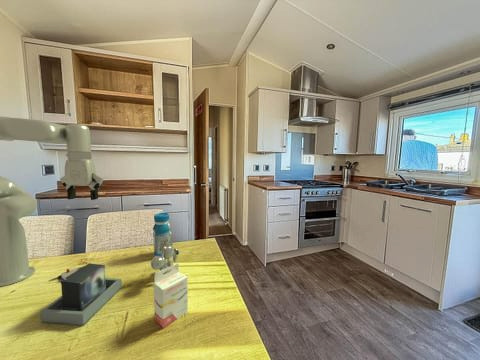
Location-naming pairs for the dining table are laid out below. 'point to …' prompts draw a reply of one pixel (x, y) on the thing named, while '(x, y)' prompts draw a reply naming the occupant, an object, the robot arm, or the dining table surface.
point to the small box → (83, 287)
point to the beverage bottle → (161, 231)
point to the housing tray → (60, 316)
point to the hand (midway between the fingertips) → (83, 199)
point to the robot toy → (164, 256)
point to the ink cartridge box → (170, 295)
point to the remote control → (67, 273)
